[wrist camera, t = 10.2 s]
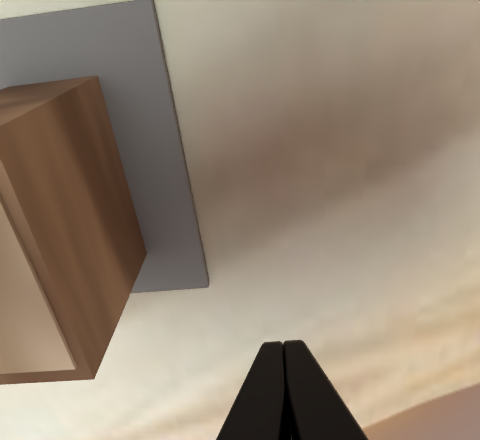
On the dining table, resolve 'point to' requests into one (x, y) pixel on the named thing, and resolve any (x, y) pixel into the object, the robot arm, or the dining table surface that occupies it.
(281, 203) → the dining table surface
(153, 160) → the mat
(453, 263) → the dining table surface
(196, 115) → the dining table surface
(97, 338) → the slab
